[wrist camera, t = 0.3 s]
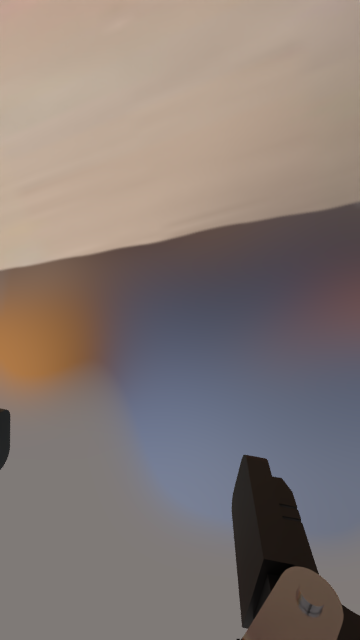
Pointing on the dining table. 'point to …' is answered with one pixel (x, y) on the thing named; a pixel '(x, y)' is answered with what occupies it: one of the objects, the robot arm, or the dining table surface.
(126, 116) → the dining table surface
